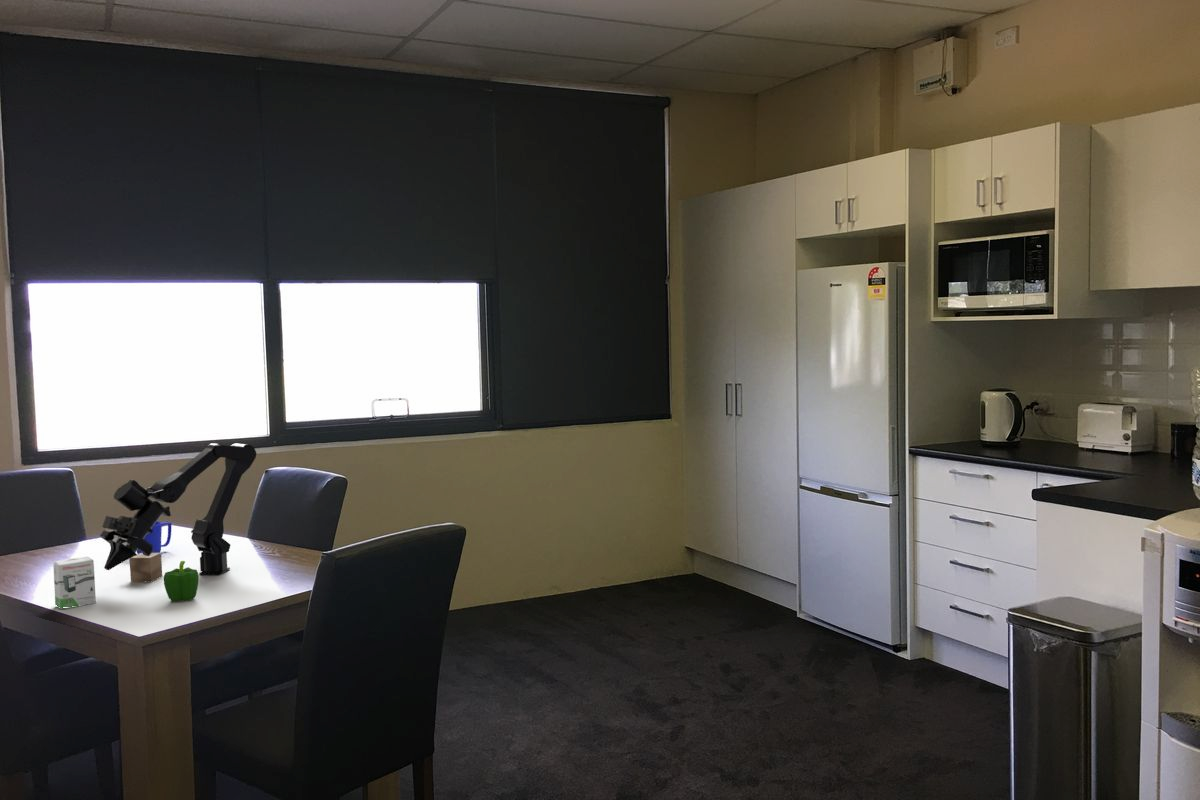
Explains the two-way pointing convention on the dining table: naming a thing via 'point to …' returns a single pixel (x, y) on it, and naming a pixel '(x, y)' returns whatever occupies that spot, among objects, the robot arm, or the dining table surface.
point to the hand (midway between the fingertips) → (106, 569)
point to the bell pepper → (181, 583)
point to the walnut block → (145, 567)
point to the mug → (157, 537)
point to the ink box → (74, 582)
